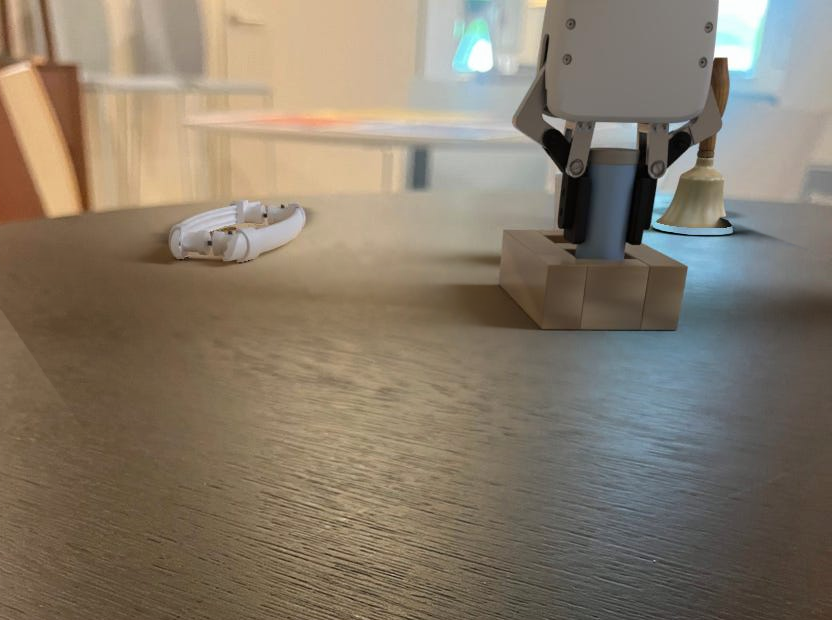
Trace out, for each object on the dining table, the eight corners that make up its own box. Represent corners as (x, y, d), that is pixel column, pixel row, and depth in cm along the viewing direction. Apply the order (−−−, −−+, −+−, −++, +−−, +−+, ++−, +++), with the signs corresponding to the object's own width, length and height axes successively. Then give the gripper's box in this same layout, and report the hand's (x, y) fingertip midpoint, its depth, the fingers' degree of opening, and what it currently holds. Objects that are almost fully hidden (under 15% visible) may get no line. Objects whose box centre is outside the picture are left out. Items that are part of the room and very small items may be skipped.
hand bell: (731, 238, 103) (765, 57, 96) (647, 232, 106) (674, 56, 98) (735, 228, 110) (768, 58, 102) (657, 223, 113) (682, 57, 105)
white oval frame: (323, 228, 105) (260, 267, 84) (230, 224, 106) (145, 261, 85) (323, 199, 104) (259, 232, 82) (229, 196, 105) (143, 227, 84)
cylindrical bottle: (611, 290, 71) (631, 147, 67) (624, 300, 68) (646, 151, 64) (564, 290, 71) (581, 146, 66) (576, 300, 68) (595, 150, 64)
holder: (611, 285, 80) (619, 230, 78) (677, 330, 66) (688, 266, 65) (498, 284, 79) (503, 229, 77) (541, 329, 66) (548, 264, 64)
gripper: (758, -85, 62) (701, 235, 72) (493, -93, 62) (470, 232, 71) (813, -102, 56) (743, 252, 65) (517, -111, 55) (488, 249, 64)
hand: (601, 238), depth 68 cm, fingers closed on cylindrical bottle, 3 cm apart
